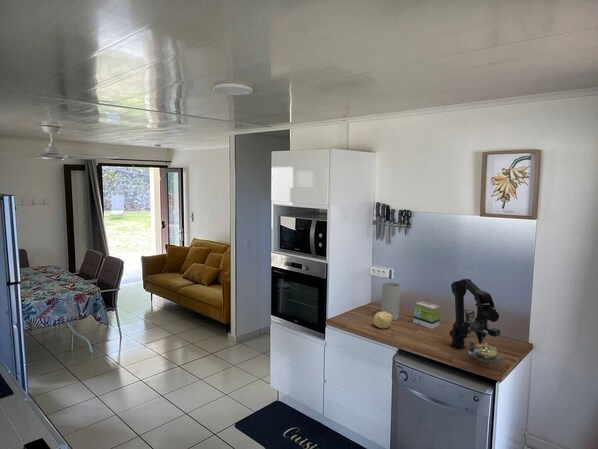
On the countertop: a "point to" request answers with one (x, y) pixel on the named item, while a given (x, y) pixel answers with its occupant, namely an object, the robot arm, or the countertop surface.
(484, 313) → the robot arm
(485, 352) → the yellow-green irregular lump
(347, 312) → the countertop surface
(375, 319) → the yellow crumpled ball
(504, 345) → the countertop surface
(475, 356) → the mounting plate
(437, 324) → the tea box
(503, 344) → the countertop surface
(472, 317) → the coffee box
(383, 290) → the cylinder vase
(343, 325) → the countertop surface
